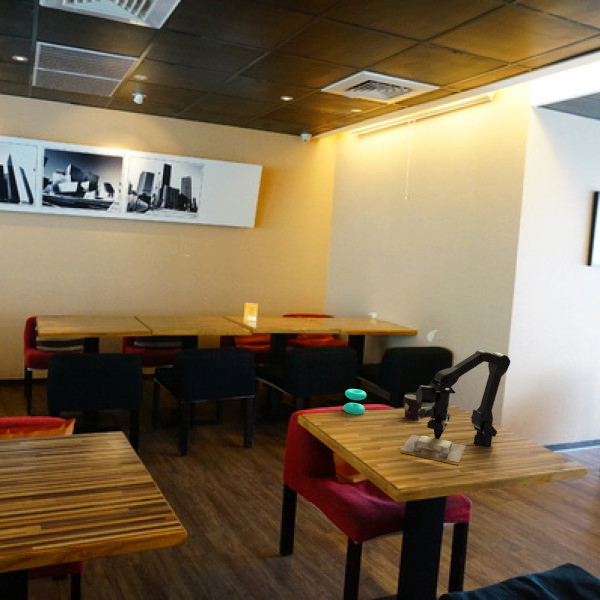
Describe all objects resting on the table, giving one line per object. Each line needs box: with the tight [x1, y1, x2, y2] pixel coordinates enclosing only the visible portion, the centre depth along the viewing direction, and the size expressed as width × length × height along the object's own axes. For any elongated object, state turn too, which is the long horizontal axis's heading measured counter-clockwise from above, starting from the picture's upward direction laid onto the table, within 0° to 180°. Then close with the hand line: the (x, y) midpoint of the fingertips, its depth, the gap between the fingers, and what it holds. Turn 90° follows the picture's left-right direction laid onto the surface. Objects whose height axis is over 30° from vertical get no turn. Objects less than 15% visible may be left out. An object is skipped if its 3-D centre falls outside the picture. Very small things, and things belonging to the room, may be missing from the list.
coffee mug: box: [402, 394, 423, 421], centre depth 291 cm, size 12×9×10 cm
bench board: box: [399, 434, 467, 467], centre depth 245 cm, size 22×22×5 cm
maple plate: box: [418, 435, 453, 453], centre depth 245 cm, size 12×8×2 cm, turn 67°
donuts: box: [343, 388, 367, 415], centre depth 291 cm, size 10×10×10 cm
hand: (436, 441), depth 250 cm, fingers closed
